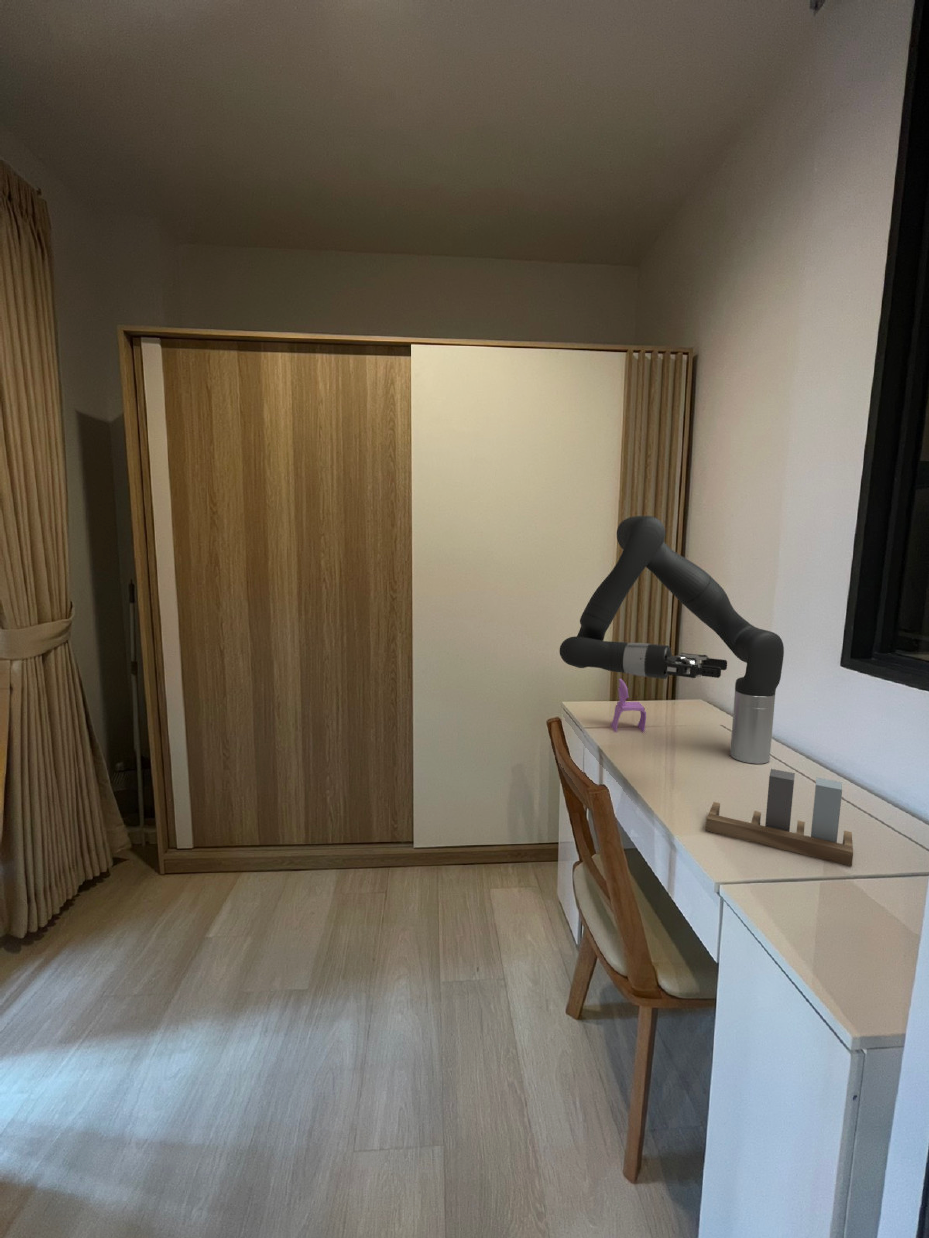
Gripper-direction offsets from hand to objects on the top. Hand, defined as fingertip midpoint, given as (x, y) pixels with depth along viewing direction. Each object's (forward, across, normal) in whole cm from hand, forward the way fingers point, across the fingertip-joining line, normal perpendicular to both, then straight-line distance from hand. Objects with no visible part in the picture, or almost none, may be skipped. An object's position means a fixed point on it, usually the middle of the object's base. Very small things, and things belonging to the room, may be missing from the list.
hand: (723, 668), depth 129 cm
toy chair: (-29, +34, +28) cm, 53 cm away
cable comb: (+13, -16, +28) cm, 35 cm away
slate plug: (+20, -14, +28) cm, 37 cm away
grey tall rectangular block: (+13, -14, +28) cm, 34 cm away
